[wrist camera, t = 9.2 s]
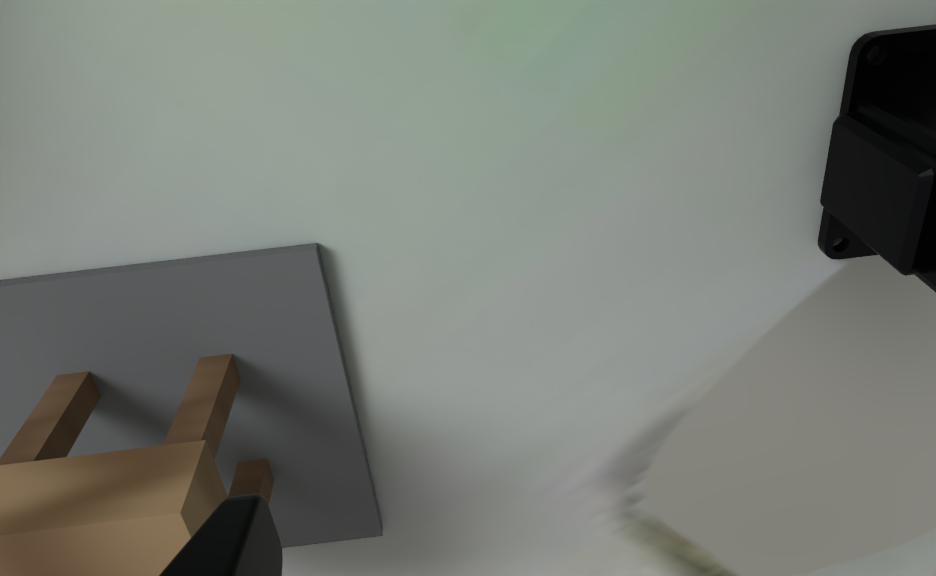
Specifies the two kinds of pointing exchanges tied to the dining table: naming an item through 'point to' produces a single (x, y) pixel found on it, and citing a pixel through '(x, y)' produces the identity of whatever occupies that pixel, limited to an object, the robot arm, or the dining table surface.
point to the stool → (116, 483)
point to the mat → (175, 358)
